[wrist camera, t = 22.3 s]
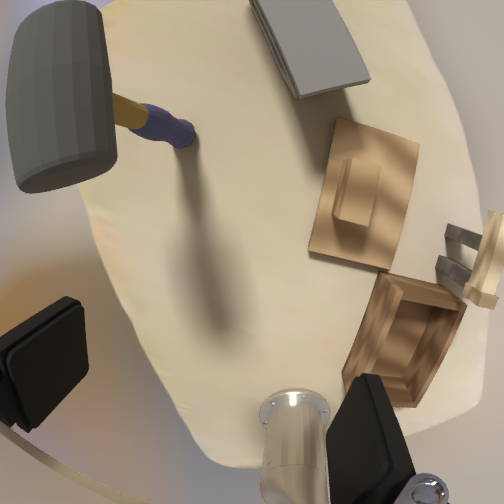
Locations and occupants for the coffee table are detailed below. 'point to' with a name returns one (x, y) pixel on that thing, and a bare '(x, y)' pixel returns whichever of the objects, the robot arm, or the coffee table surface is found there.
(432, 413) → the coffee table surface
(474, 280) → the pale wooden bar
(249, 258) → the coffee table surface
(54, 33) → the rubber mallet
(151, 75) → the coffee table surface
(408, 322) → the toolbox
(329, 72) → the sharpening stone
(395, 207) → the lid
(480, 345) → the coffee table surface
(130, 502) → the robot arm
